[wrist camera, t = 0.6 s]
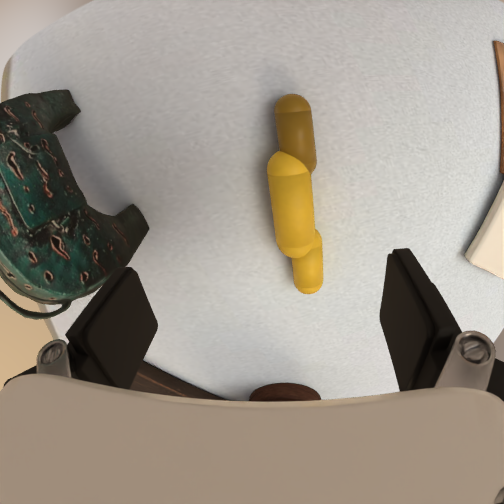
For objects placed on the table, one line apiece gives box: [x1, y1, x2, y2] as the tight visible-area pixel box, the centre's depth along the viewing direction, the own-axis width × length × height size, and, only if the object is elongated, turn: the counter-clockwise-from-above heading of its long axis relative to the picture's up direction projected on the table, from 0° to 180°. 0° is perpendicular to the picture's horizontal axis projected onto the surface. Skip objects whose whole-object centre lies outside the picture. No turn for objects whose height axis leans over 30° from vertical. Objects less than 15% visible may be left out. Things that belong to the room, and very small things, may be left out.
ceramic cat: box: [0, 90, 149, 319], centre depth 16 cm, size 20×6×20 cm, turn 28°
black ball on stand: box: [249, 383, 321, 402], centre depth 34 cm, size 13×13×15 cm
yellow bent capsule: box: [267, 94, 323, 294], centre depth 23 cm, size 18×4×3 cm, turn 9°
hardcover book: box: [129, 361, 227, 401], centre depth 43 cm, size 16×23×2 cm
